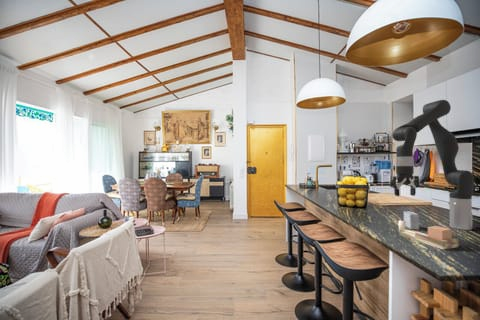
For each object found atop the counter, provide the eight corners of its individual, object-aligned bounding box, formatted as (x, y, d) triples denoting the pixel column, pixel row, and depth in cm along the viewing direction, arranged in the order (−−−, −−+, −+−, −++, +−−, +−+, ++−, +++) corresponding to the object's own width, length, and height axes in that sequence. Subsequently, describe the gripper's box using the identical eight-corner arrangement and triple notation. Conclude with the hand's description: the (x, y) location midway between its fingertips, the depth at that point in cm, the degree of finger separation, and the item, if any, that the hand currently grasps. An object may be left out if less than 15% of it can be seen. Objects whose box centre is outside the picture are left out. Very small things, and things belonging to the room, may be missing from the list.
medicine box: (419, 229, 127) (419, 214, 127) (410, 229, 128) (410, 214, 128) (411, 225, 135) (411, 211, 135) (403, 225, 136) (403, 211, 136)
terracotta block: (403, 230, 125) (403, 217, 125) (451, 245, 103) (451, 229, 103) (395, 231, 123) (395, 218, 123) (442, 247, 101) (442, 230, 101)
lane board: (413, 233, 121) (413, 226, 121) (458, 246, 102) (458, 239, 102) (399, 235, 119) (399, 228, 119) (442, 249, 99) (442, 241, 99)
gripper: (411, 164, 124) (412, 194, 124) (386, 165, 123) (387, 194, 123) (423, 165, 116) (423, 196, 116) (397, 165, 116) (397, 197, 116)
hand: (404, 195), depth 120 cm, fingers open, 8 cm apart
